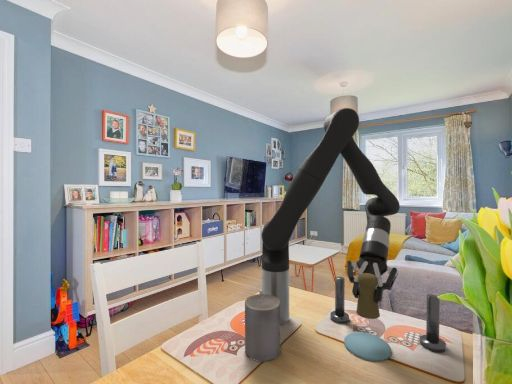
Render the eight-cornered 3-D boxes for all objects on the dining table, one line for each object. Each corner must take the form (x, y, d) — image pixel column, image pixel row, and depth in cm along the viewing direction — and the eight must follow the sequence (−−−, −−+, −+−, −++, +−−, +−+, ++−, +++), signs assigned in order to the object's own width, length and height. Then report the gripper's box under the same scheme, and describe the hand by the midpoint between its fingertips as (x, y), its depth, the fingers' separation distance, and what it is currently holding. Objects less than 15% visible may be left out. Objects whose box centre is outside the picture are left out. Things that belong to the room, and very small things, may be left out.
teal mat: (338, 350, 72) (338, 347, 72) (350, 330, 81) (350, 328, 81) (387, 367, 65) (387, 364, 65) (394, 343, 75) (394, 340, 75)
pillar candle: (254, 336, 78) (254, 287, 78) (285, 345, 74) (285, 292, 73) (238, 356, 69) (237, 300, 69) (272, 367, 65) (271, 307, 65)
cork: (382, 319, 69) (382, 278, 69) (358, 317, 71) (357, 277, 70) (376, 309, 75) (376, 271, 75) (354, 307, 77) (354, 270, 76)
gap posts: (327, 320, 88) (328, 278, 87) (333, 313, 93) (333, 273, 92) (445, 355, 69) (446, 303, 69) (445, 344, 74) (446, 295, 74)
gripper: (348, 237, 83) (336, 287, 73) (400, 242, 75) (394, 299, 65) (353, 250, 87) (342, 299, 78) (402, 256, 79) (397, 312, 69)
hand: (366, 298), depth 71 cm, fingers closed on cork, 4 cm apart
